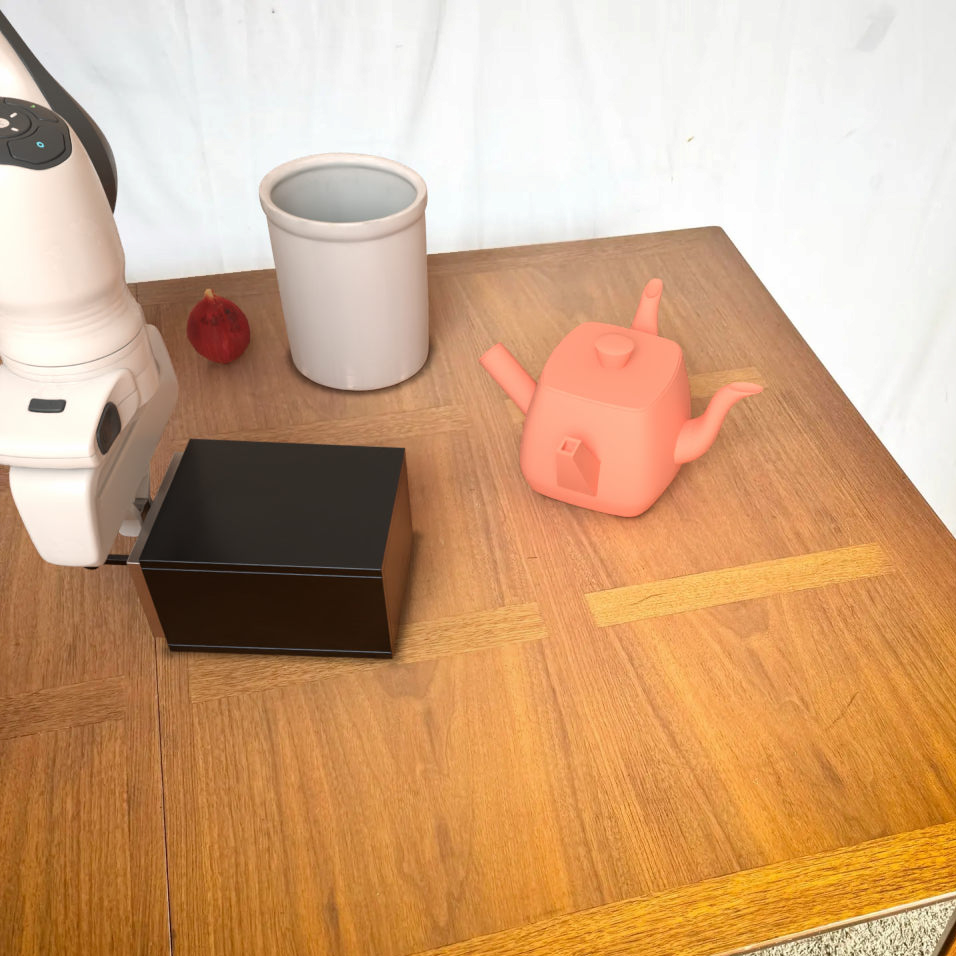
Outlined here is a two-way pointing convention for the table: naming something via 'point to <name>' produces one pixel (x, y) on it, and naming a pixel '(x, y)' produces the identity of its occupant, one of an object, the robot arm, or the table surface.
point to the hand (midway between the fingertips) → (138, 523)
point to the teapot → (610, 413)
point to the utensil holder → (350, 267)
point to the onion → (218, 329)
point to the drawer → (138, 547)
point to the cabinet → (282, 549)
